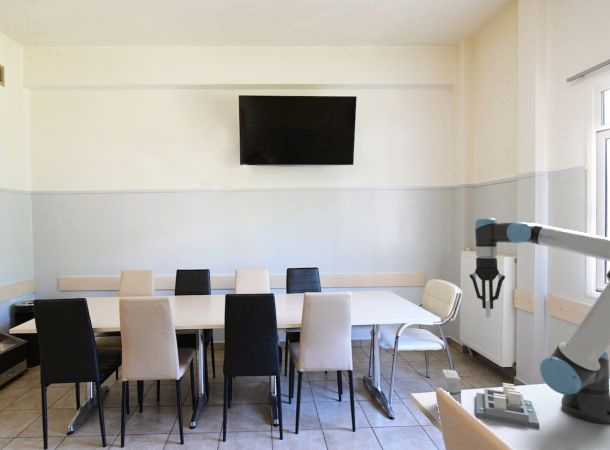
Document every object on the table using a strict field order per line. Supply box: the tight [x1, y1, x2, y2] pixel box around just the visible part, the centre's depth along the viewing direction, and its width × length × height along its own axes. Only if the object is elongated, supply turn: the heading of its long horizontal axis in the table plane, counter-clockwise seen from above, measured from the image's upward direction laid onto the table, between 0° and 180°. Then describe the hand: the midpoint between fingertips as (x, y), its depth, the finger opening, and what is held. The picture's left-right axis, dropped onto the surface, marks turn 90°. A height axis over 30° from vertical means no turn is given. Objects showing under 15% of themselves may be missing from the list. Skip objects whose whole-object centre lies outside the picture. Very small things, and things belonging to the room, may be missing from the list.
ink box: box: [442, 369, 462, 405], centre depth 129 cm, size 8×5×12 cm, turn 168°
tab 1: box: [494, 393, 506, 410], centre depth 121 cm, size 4×3×6 cm
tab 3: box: [508, 389, 521, 406], centre depth 124 cm, size 4×3×6 cm
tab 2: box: [502, 382, 516, 397], centre depth 130 cm, size 4×3×6 cm
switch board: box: [475, 388, 540, 429], centre depth 125 cm, size 18×17×4 cm
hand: (488, 316), depth 141 cm, fingers closed
